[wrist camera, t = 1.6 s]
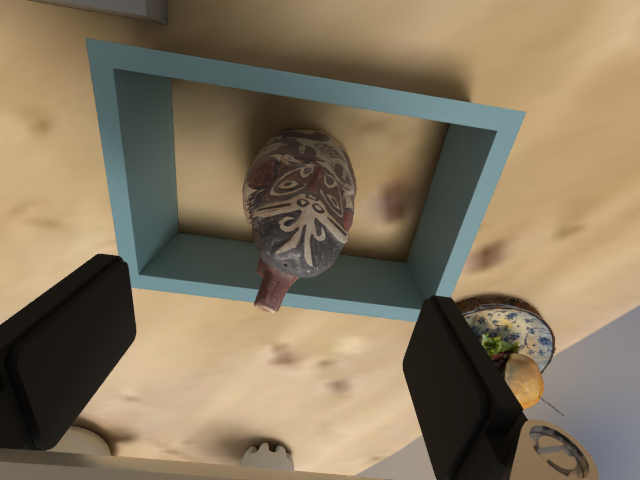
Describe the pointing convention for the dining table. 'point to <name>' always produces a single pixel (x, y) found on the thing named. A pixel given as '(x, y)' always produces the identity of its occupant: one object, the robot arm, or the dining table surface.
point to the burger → (513, 343)
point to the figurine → (297, 209)
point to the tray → (120, 8)
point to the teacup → (82, 442)
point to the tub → (242, 257)
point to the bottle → (267, 458)
